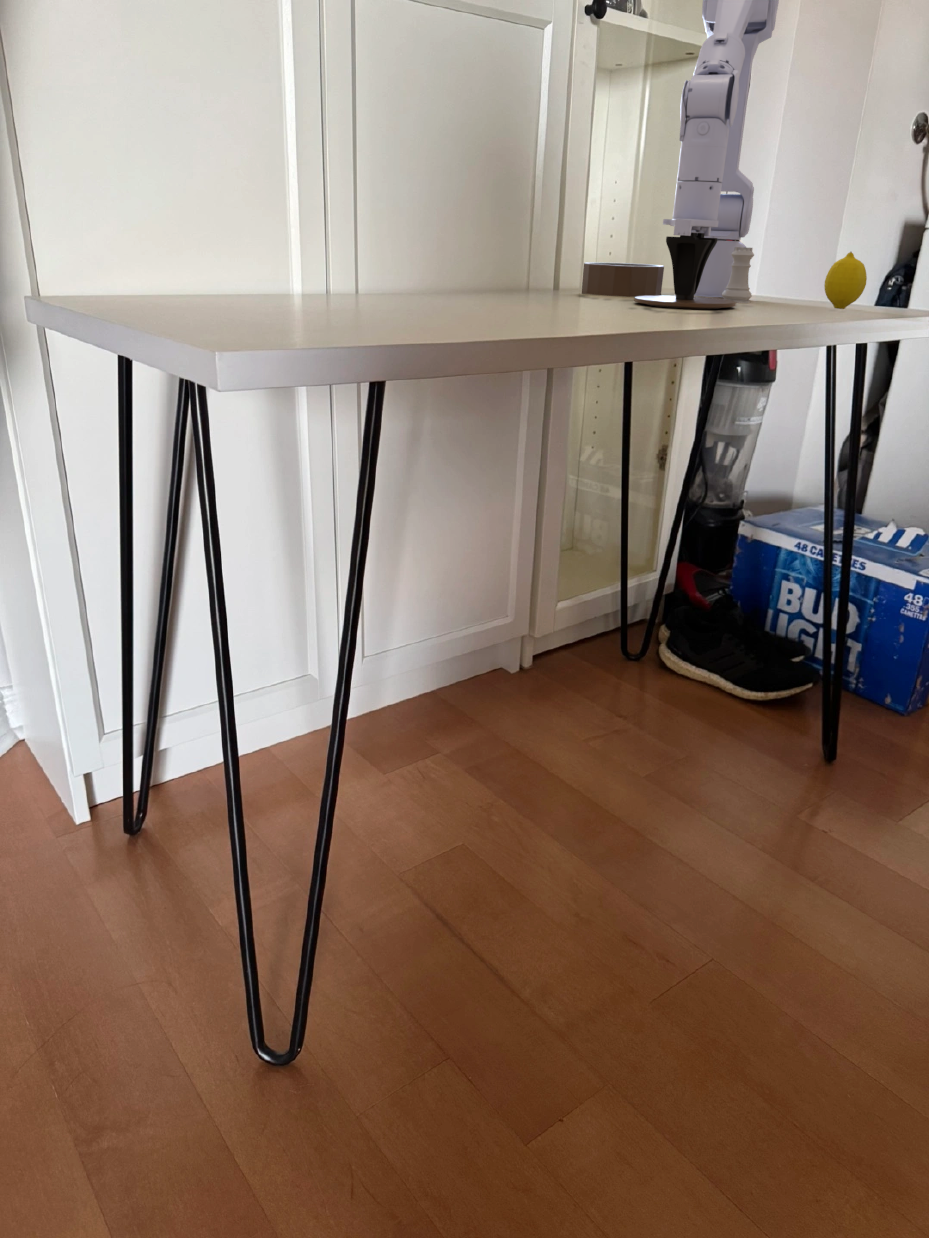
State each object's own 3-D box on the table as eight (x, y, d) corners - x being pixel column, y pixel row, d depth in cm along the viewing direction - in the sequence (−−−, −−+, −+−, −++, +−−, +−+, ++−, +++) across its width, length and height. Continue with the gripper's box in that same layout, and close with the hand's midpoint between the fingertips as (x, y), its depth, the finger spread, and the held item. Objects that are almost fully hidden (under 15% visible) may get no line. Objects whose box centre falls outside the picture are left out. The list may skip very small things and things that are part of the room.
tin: (620, 294, 148) (623, 262, 146) (676, 300, 139) (680, 266, 137) (565, 295, 142) (567, 262, 140) (620, 301, 132) (623, 266, 131)
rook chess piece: (743, 304, 134) (751, 247, 131) (755, 307, 130) (764, 248, 127) (715, 304, 133) (723, 246, 130) (726, 306, 129) (735, 247, 126)
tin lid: (679, 303, 129) (684, 261, 126) (755, 311, 119) (762, 266, 116) (612, 304, 121) (616, 261, 119) (688, 313, 111) (694, 266, 109)
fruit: (867, 311, 129) (879, 252, 126) (848, 312, 125) (860, 252, 122) (831, 308, 133) (842, 251, 129) (812, 309, 129) (823, 250, 126)
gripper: (679, 185, 121) (667, 290, 127) (655, 179, 109) (643, 295, 115) (732, 186, 119) (717, 293, 124) (713, 179, 107) (697, 298, 112)
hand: (685, 294), depth 119 cm, fingers closed on tin lid, 2 cm apart
